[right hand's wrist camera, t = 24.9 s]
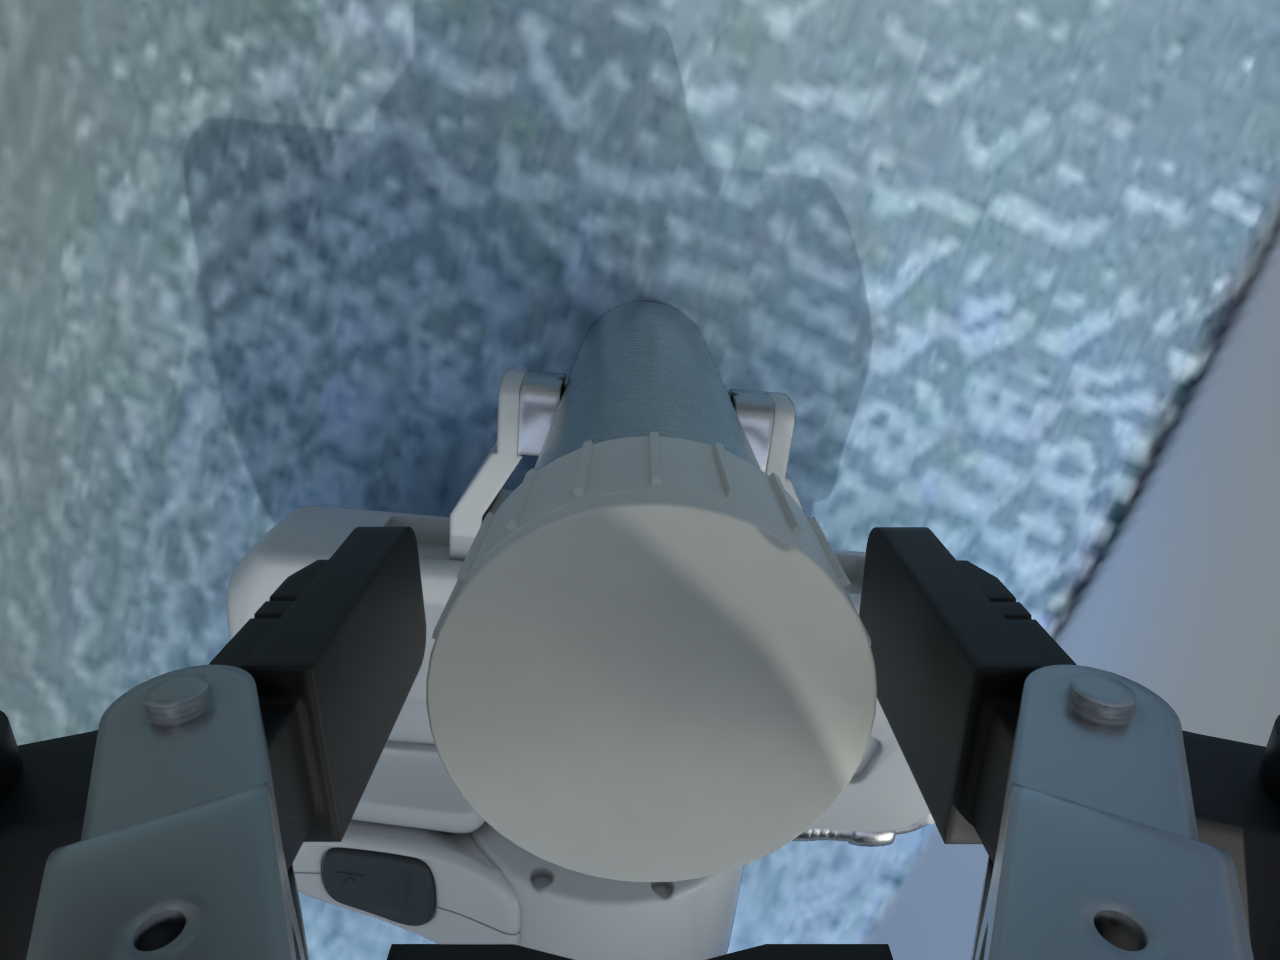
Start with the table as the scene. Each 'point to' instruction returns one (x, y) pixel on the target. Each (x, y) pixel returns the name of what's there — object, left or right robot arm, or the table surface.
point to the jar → (644, 386)
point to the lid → (650, 664)
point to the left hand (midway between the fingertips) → (646, 385)
